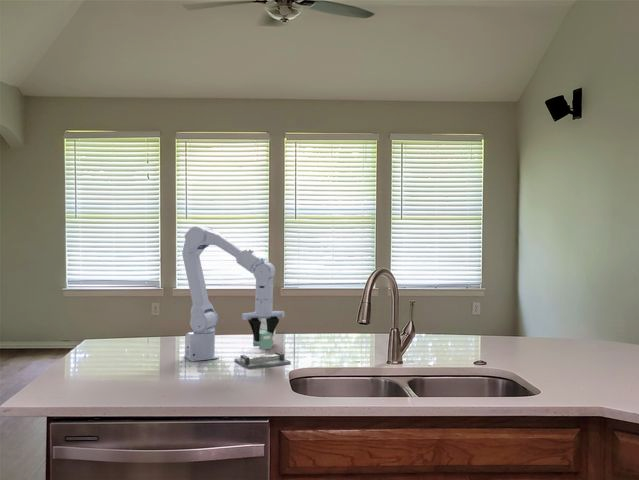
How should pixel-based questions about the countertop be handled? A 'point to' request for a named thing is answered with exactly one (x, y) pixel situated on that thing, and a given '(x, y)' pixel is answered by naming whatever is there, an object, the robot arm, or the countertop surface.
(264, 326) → the ink box
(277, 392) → the countertop surface
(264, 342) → the block
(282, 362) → the rail plate
